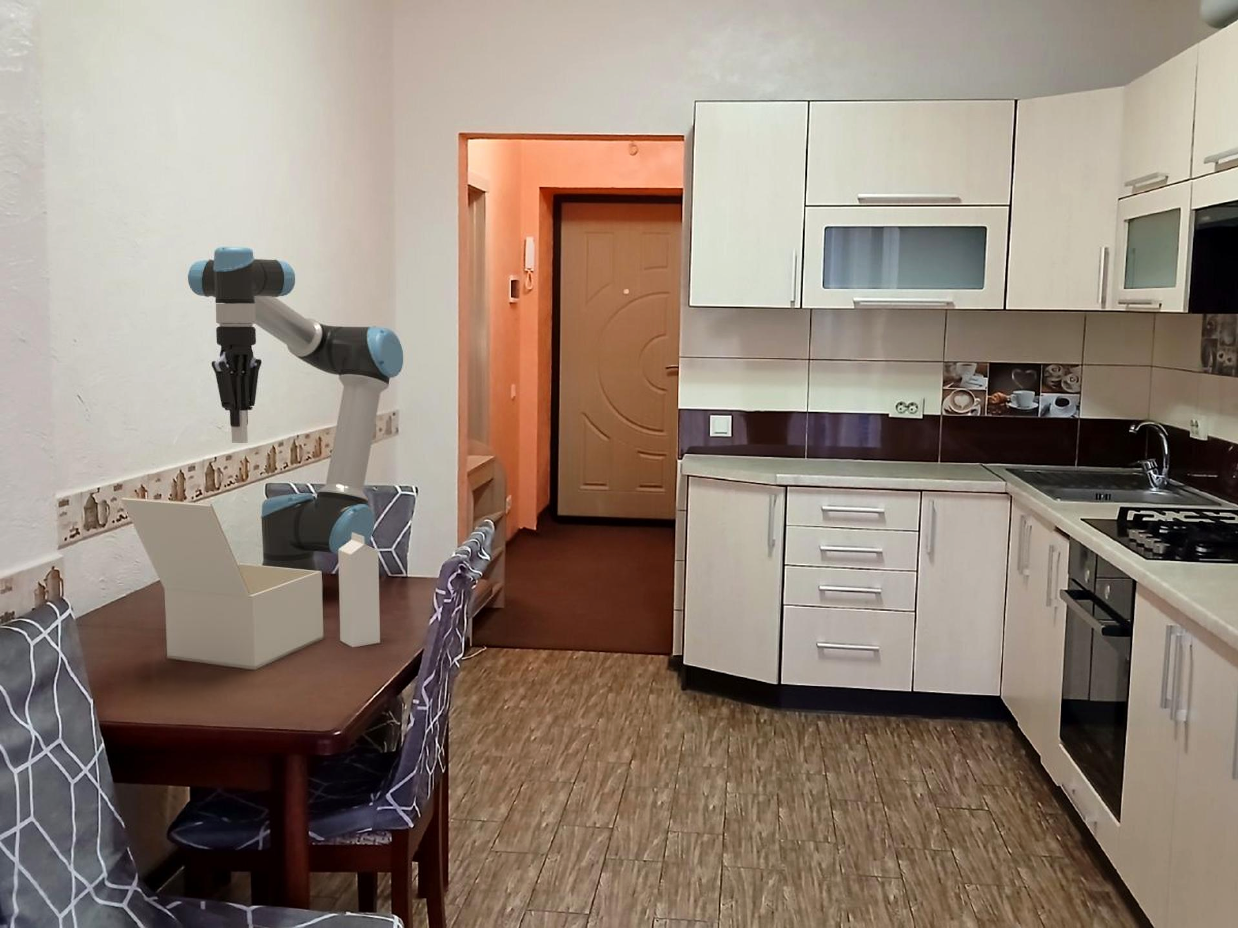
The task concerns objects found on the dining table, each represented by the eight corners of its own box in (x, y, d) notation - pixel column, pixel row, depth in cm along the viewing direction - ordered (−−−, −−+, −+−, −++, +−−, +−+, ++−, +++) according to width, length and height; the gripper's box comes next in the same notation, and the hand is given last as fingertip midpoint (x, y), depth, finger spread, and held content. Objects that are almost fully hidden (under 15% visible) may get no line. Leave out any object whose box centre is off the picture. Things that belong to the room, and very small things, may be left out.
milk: (352, 647, 230) (349, 538, 227) (339, 640, 235) (336, 533, 232) (380, 642, 234) (378, 535, 231) (367, 635, 239) (365, 530, 236)
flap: (123, 497, 209) (121, 499, 208) (211, 503, 202) (209, 505, 202) (165, 585, 220) (163, 587, 220) (250, 594, 214) (248, 596, 213)
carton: (241, 628, 243) (238, 563, 241) (323, 638, 236) (321, 571, 234) (167, 658, 222) (164, 586, 221) (255, 669, 216) (252, 595, 214)
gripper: (241, 325, 240) (244, 438, 244) (198, 325, 228) (203, 445, 231) (271, 325, 238) (275, 440, 241) (230, 326, 226) (234, 446, 229)
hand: (239, 442), depth 236 cm, fingers closed
